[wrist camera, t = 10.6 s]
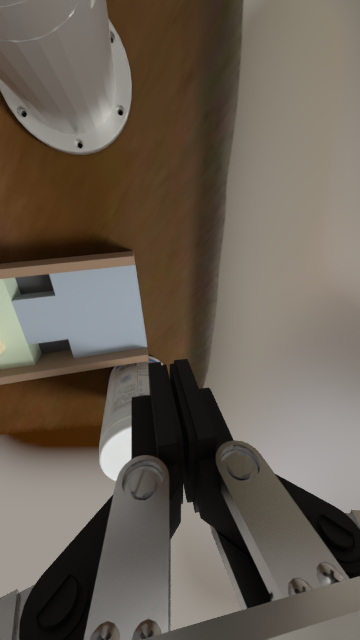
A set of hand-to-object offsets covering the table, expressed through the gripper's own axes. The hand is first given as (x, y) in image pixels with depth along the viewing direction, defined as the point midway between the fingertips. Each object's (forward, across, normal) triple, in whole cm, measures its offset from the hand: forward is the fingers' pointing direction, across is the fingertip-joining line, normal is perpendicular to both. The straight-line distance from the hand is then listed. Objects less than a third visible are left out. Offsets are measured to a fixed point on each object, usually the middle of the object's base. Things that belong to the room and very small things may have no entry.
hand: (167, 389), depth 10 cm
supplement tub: (+25, +2, +18) cm, 30 cm away
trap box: (+25, +12, +5) cm, 28 cm away
